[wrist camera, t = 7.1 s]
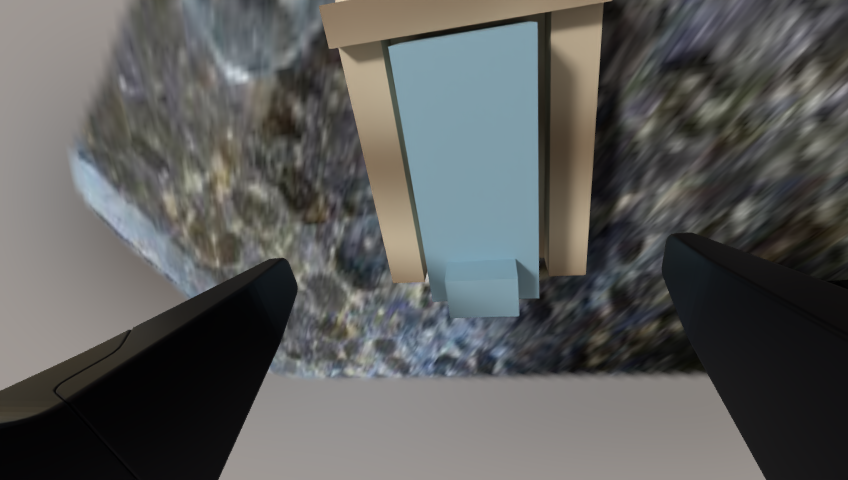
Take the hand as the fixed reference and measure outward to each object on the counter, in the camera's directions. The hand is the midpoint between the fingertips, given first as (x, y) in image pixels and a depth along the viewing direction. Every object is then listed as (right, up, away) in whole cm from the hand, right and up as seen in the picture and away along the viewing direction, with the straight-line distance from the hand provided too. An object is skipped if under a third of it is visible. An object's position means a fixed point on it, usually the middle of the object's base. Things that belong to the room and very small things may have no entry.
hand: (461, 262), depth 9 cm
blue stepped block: (+1, +4, +7) cm, 8 cm away
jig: (+1, +6, +7) cm, 9 cm away
